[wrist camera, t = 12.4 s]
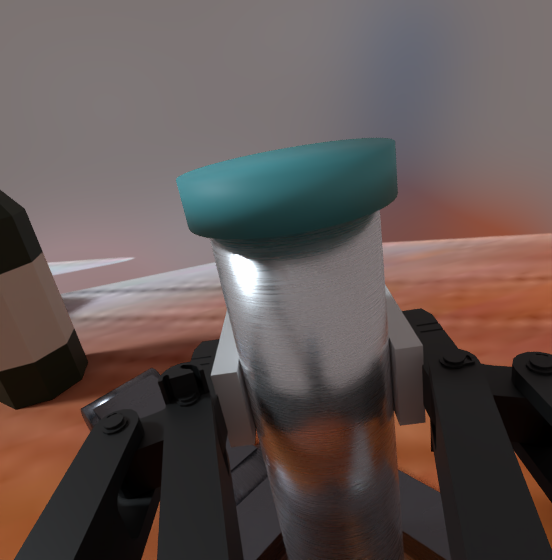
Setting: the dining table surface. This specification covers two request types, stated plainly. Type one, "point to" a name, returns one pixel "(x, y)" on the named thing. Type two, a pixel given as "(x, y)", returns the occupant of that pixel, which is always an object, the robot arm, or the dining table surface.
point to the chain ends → (257, 492)
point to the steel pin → (312, 333)
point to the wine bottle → (32, 318)
